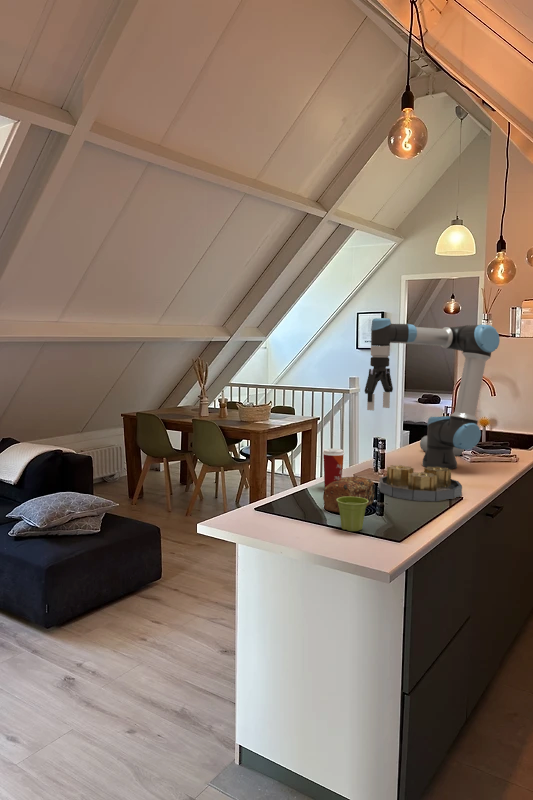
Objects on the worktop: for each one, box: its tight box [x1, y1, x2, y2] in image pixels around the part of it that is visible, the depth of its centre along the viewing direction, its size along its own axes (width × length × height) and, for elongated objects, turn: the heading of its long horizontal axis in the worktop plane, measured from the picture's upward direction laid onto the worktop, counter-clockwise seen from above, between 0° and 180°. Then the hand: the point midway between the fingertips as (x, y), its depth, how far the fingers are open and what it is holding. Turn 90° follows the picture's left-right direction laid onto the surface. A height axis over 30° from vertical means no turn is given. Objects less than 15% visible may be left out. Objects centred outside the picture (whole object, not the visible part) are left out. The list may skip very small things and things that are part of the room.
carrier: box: [378, 468, 463, 502], centre depth 230 cm, size 29×29×8 cm
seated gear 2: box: [423, 466, 452, 487], centre depth 233 cm, size 10×10×6 cm
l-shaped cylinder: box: [419, 435, 465, 457], centre depth 313 cm, size 18×11×20 cm
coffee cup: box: [322, 448, 345, 488], centre depth 232 cm, size 8×8×15 cm
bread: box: [322, 476, 376, 514], centre depth 206 cm, size 19×11×10 cm, turn 144°
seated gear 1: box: [408, 471, 437, 491], centre depth 222 cm, size 10×10×6 cm
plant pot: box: [336, 497, 369, 532], centre depth 181 cm, size 9×9×9 cm
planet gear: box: [386, 464, 415, 486], centre depth 235 cm, size 10×10×6 cm
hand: (378, 409), depth 249 cm, fingers open, 13 cm apart
